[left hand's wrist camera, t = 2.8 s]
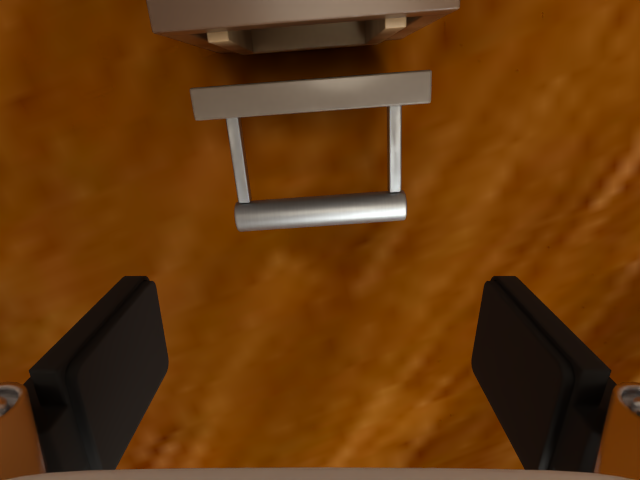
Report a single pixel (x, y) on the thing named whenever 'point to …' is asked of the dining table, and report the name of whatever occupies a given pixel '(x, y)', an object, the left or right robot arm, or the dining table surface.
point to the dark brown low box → (283, 15)
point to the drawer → (313, 99)
